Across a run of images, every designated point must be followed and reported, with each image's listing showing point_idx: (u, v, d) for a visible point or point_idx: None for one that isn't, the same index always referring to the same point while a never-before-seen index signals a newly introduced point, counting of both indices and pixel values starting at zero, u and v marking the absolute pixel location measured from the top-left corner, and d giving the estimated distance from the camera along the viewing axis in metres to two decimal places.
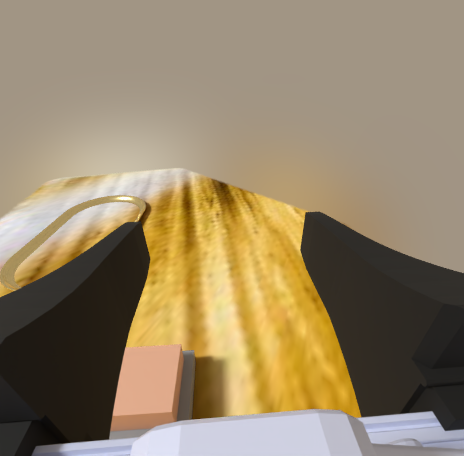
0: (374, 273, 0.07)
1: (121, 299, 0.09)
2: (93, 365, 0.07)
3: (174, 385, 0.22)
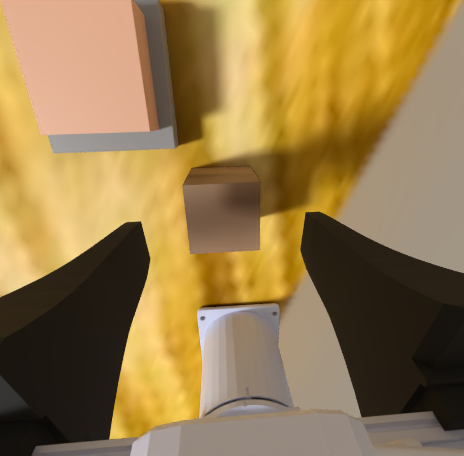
0: (374, 273, 0.07)
1: (121, 299, 0.09)
2: (93, 365, 0.07)
3: (142, 90, 0.14)
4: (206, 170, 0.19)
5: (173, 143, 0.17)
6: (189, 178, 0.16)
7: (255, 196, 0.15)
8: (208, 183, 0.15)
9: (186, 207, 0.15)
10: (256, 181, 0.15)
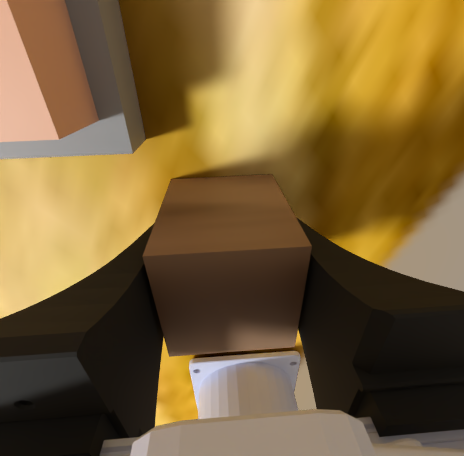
0: (325, 276, 0.07)
1: None
2: (142, 361, 0.07)
3: (15, 30, 0.05)
4: (197, 188, 0.10)
5: (129, 143, 0.09)
6: (162, 221, 0.08)
7: (299, 271, 0.07)
8: (199, 248, 0.07)
9: (155, 292, 0.07)
10: (303, 243, 0.07)
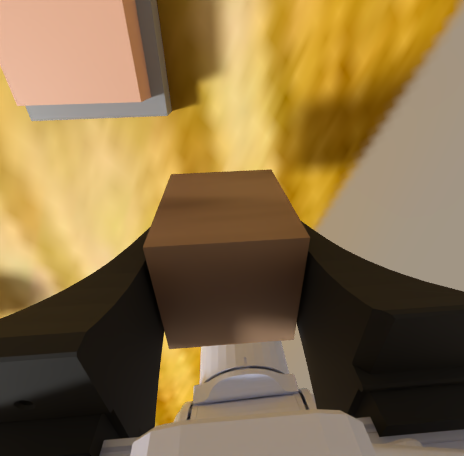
0: (325, 276, 0.07)
1: None
2: (142, 361, 0.07)
3: (130, 52, 0.12)
4: (196, 183, 0.11)
5: (165, 109, 0.15)
6: (162, 214, 0.08)
7: (297, 262, 0.07)
8: (199, 240, 0.07)
9: (155, 284, 0.08)
10: (301, 235, 0.07)
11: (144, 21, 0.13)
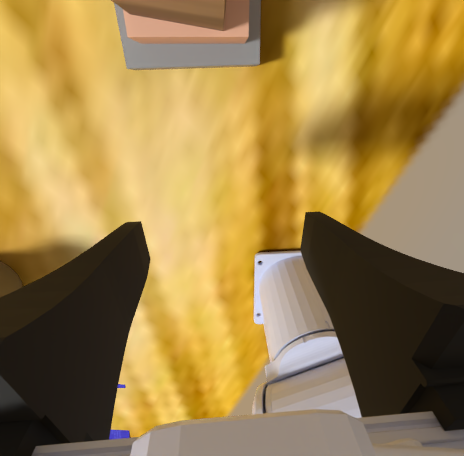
0: (374, 273, 0.07)
1: (120, 299, 0.09)
2: (93, 365, 0.07)
3: None
4: None
5: (258, 58, 0.15)
6: None
7: None
8: None
9: None
10: None
11: None
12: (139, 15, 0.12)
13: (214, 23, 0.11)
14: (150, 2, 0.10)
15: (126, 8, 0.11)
